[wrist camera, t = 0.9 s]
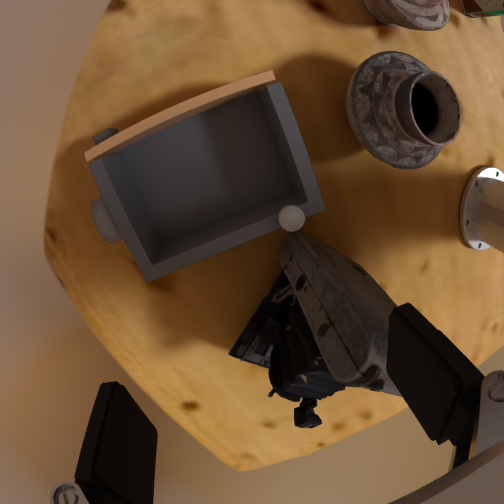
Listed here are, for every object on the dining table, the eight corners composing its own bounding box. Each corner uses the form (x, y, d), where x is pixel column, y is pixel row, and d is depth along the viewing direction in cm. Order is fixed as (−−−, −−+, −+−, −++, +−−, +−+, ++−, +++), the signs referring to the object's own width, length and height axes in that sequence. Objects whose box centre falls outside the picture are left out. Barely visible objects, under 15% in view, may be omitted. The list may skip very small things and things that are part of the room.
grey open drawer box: (261, 83, 25) (278, 66, 19) (304, 198, 30) (330, 217, 23) (93, 158, 26) (60, 166, 19) (144, 264, 30) (128, 299, 24)
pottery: (420, -3, 22) (480, -29, 11) (404, 172, 30) (478, 194, 19) (341, -40, 20) (389, -87, 9) (316, 149, 29) (376, 159, 17)
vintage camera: (220, 331, 35) (234, 486, 17) (290, 221, 31) (386, 352, 13) (286, 354, 38) (329, 488, 20) (357, 259, 34) (462, 378, 16)
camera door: (257, 72, 24) (267, 58, 19) (264, 89, 25) (276, 79, 20) (101, 140, 24) (79, 142, 19) (108, 157, 25) (87, 161, 20)
